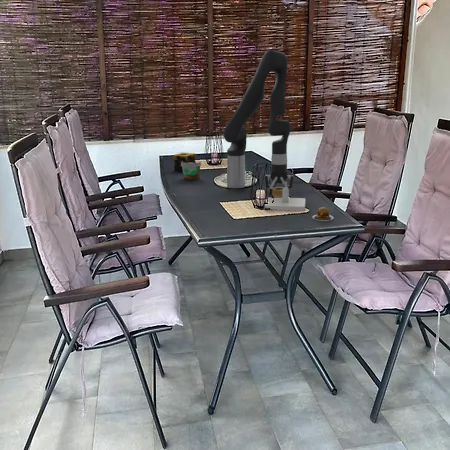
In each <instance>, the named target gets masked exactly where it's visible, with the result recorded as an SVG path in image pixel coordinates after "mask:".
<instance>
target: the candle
mask: <svg viewBox="0 0 450 450" xmlns="http://www.w3.org/2000/svg"><path fill="white" fill-rule="evenodd" d="M182 161H183V163H190V162H192V163H197V162H196V153H195V152H194V153H193V152H178V153H176V154H174V155H173V164H174V165H173V169H174V170H173V171H175V172H183V169H182V166H181V163H182Z"/></svg>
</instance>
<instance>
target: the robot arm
mask: <svg viewBox="0 0 450 450" xmlns="http://www.w3.org/2000/svg"><path fill="white" fill-rule="evenodd" d="M270 72H272V73H274V75H275V83H274V86H273V87H272V88H273V89H272V90H271V93H270V98H269V100H270V101H269V102H270V119H269V122H268V128H267V131H268V133H269V135H270V136H272V137H277V136H281V138H280V139H276V140H274V141H272V143H271V157H270V158H271V160H270V161H271V162H270V163H271V170H270V171H271V172H270V174H265V175H264V180H265V187H266V188H268V189H269V195H270V196H271V197H272V188H274V185H275V184H282V185H283V187H284V188H285V187H287V188H288V189H289V190H290V189H292V188H293V181H294V175H290V174H288V152H287V150H288V148H287V147H288V142H289V141H288V140H289V136H290V134H291V128H292V125H291V122H290V121H289V120H287V119H286V120H282V119H281V120H277V118H278V117H283V116H284V115H286V114H287V112H286V111H287V109H286V108H287V106H286V82H287V73H288V57H287V55H286V53H284V52H281V51H278V50H272V49H268V50H266V51H265V52H264V54H263V55H262V57H261V59H260V61H259V64H258V66H257V68H256V71H255V73H254V76H253V77H252V80H251V82H250V84H249V85H248V87H247V89H246V91H245V93H244V94H243V97H242V99H241V101H240V103H239V104H238V107H237V109H236V110H235V112H234V114H233V116H232V117H231V119H230V120H229V122H228V123H227V125H226V126H225V128H224V130H223V138H224V140H225V141H226V142H227V143H231V144H230V146H229V147H228V148H227V150H226V156H227V157H226V159H227V161H226V162H227V164H226V165H227V169H226V188H229V189H242V188H243V189H244V188H245V187H246V157H245V156H246V155H245V154H246V153H245V152H246V150H247V149H246V148H247V130H246V127H245V124H246V122H247V121H248V120H249V119H250V118H251V117H252V116H253V115H254V114H255V113H256V112H257V110H258V109H259V108H260V106H261V104H262V102H263V100H264V99H265V92H266V91H265V89H266V87H265V84H266V79H267V77H268V76H269V75H270ZM270 179H271V180H272V182H271V184H270V183H269V180H270ZM287 179H289V184H288V182H287V181H286V180H287Z"/></svg>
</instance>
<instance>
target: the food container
mask: <svg viewBox="0 0 450 450" xmlns="http://www.w3.org/2000/svg"><path fill="white" fill-rule="evenodd" d="M181 166H182V169H183V171H182V174H183V179H184V180H185V181H189V182H190V181H198V180H200V177H201V166H202V163H201V162H200V161H199V162H196V163H192V162H190V163H183V161H182V163H181Z"/></svg>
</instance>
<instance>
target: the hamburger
mask: <svg viewBox="0 0 450 450" xmlns="http://www.w3.org/2000/svg"><path fill="white" fill-rule="evenodd" d="M316 217H317V219H315V218H316ZM311 218H312V219H313V220H315V221H319V222H328V221H332V220H334V219H335V218H334V216H332V215H331V212H330V209H329V208H328V207H325V206H322V207H321V206H320V207H318V208H317V211H316V214H314V215H312V217H311Z"/></svg>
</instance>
